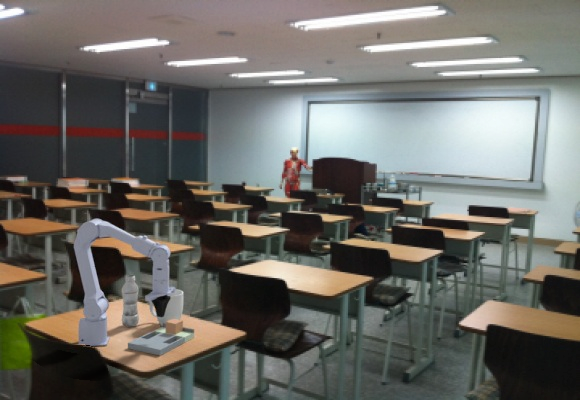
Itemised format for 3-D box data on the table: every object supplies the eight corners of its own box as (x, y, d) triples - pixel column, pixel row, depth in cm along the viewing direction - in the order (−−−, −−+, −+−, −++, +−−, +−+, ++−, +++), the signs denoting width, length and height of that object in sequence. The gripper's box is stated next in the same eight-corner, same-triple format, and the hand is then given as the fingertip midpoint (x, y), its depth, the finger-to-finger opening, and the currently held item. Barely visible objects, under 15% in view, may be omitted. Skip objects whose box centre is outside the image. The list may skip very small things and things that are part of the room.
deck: (160, 355, 182) (160, 346, 181) (127, 348, 187) (127, 339, 187) (194, 337, 200) (194, 329, 200) (163, 331, 205) (163, 323, 205)
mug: (141, 324, 213) (141, 292, 211) (158, 317, 223) (159, 286, 221) (172, 330, 207) (172, 297, 205) (188, 322, 217) (189, 291, 215)
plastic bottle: (141, 323, 214) (141, 274, 212) (134, 329, 207) (135, 278, 205) (125, 322, 214) (125, 273, 212) (118, 328, 208) (118, 277, 206)
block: (175, 334, 197) (175, 323, 196) (165, 332, 199) (165, 321, 198) (182, 330, 201) (182, 320, 200) (172, 328, 203) (173, 318, 202)
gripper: (157, 285, 183) (156, 323, 184) (182, 276, 196) (181, 312, 197) (140, 282, 185) (140, 320, 187) (166, 274, 199) (166, 309, 200)
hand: (160, 316), depth 192 cm, fingers closed
